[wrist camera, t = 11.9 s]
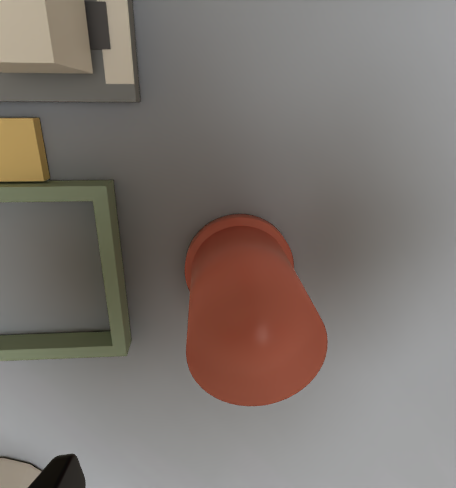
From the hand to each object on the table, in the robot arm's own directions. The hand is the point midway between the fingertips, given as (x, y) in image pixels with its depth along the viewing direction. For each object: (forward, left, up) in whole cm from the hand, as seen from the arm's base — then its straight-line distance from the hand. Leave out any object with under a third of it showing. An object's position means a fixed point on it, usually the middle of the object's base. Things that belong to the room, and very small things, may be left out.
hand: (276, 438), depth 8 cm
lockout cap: (0, 0, -10) cm, 10 cm away
